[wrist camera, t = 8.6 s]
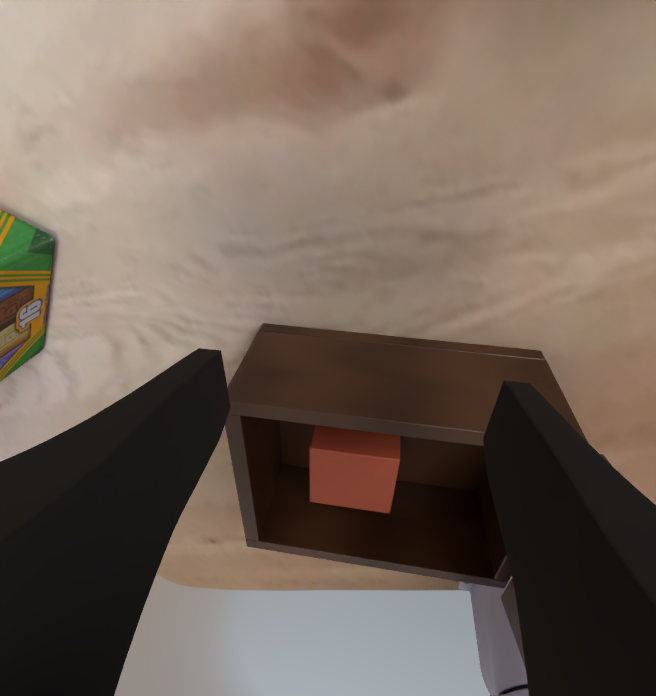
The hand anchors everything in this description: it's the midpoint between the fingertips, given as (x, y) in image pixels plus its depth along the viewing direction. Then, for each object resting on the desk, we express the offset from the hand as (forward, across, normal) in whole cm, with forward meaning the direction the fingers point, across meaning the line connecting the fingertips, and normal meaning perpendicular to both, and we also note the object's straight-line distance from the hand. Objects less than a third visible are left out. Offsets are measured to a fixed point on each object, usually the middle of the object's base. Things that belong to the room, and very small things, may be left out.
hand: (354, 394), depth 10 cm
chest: (+10, -2, +10) cm, 14 cm away
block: (+9, 0, +10) cm, 14 cm away
